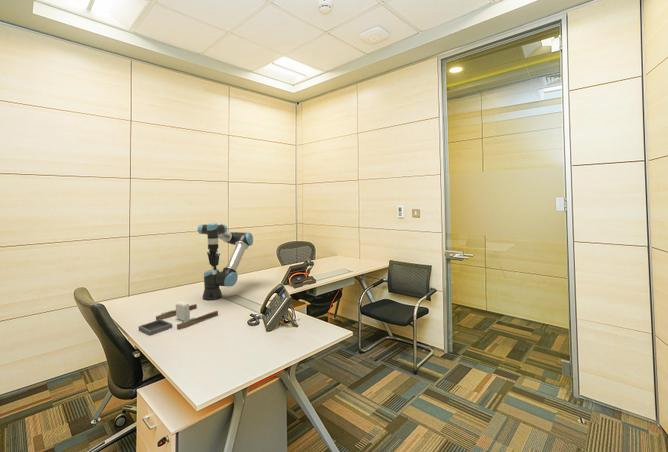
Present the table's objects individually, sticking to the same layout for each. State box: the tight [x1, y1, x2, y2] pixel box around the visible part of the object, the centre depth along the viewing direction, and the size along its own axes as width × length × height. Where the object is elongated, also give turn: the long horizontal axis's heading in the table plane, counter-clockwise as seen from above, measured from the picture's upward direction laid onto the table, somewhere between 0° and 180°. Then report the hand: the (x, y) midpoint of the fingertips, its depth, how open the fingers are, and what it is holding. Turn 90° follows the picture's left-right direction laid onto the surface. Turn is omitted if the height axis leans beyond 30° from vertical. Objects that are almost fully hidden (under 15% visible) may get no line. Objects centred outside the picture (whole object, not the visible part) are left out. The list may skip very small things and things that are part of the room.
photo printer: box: [175, 300, 191, 321], centre depth 221 cm, size 10×4×12 cm, turn 63°
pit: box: [137, 319, 173, 336], centre depth 206 cm, size 14×14×2 cm
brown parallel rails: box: [155, 303, 219, 330], centre depth 224 cm, size 28×30×4 cm
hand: (214, 274), depth 247 cm, fingers closed
